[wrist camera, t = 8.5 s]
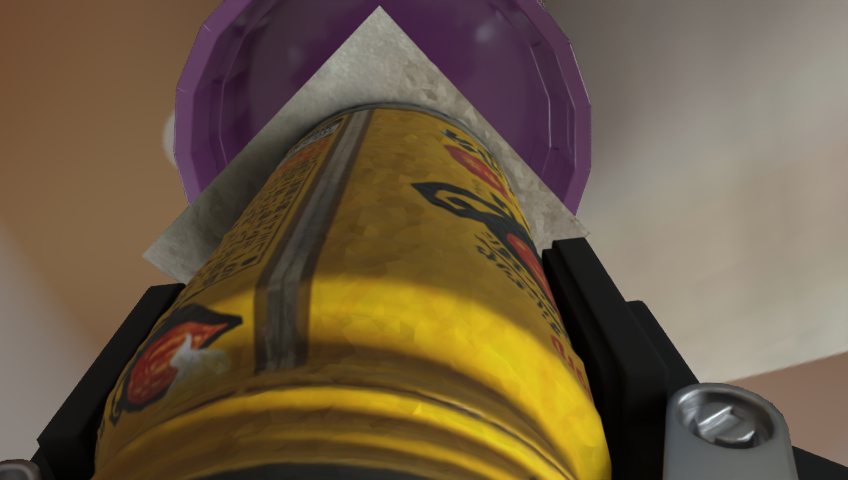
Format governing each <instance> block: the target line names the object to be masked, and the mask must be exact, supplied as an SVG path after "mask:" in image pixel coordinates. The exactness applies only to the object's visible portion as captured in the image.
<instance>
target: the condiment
mask: <svg viewBox="0 0 848 480" xmlns="http://www.w3.org/2000/svg"><path fill="white" fill-rule="evenodd" d="M589 234H590V233H589V232H588V231H587V229H586V228H585V227H584V226H583V225H582V224H581V223H580V222H579V221H578V220H577V219H576V218H575V216H574V215H573V214H572V213H571V212H570V211H569V210H568V209H567V208H566V207H565V206H564V204H563V203H562V202H561V201H560V200H559V198H558V197H556V196H555V195H554V193H553V192H552V191H551V190H550V189H549V188H548V187H547V186H546V185H545V184H544V183H543V182H542V180H541V179H540V178H539V177H538V176H537V175H536V174H535V173H534V172H533V171H532V170H531V168H530V167H529V166H528V165H527V164H526V163H525V162H524V161H523V160H522V159H521V158H520V157H519V155H518V154H517V153H516V152H515V151H514V150H513V149H512V148H511V147H510V146H509V144H508V143H507V142H506V141H505V140H504V139H503V138H502V137H501V136H500V135H499V134H498V133H497V132H496V130H495V129H494V128H493V127H492V126H491V125H490V124H489V123H488V122H487V121H486V120H485V119H484V118H483V117H482V115H481V114H480V113H479V112H478V111H477V110H476V109H475V108H474V107H473V106H472V105H471V104H470V103H469V101H468V100H467V99H466V98H465V97H464V96H463V95H462V94H461V93H460V92H459V91H458V89H457V88H456V87H455V86H454V85H453V84H452V83H451V82H450V81H449V80H448V79H447V78H446V77H445V76H444V75H443V73H442V72H441V71H440V70H439V69H438V68H437V66H435V65H434V64H433V63H432V62H431V61H430V60H429V59H428V58H427V57H426V55H425V54H424V53H423V52H422V51H421V50H420V49H419V48H418V47H417V46H416V45H415V43H414V42H413V41H412V40H411V39H410V38H409V37H408V36H407V35H406V34H405V33H404V32H403V31H402V29H401V28H400V27H399V26H398V25H397V24H396V23H395V22H394V21H393V20H392V19H391V18H390V16H389V15H388V14H387V13H386V12H385V11H384V10H383V9H382V8H381V7H380V6H379V7H378V8H377V9H376V10H375V11H374V12H373V13H372V14H371V15H370V16H369V17H368V18H367V19H366V20H365V21H364V22H363V23H362V24H361V25H360V27H359V28H358V29H357V30H356V31H355V32H354V33H353V34H352V35H351V36H350V37H349V38H348V39H347V40H346V41H345V42H344V43H343V44H342V45H341V47H340V48H339V49H338V50H337V51H336V52H335V53H334V54H333V55H332V56H331V57H330V58H329V59H328V60H327V61H326V62H325V63H324V64H323V66H322V67H321V68H320V69H319V70H318V71H317V72H316V73H315V74H314V75H313V76H312V77H311V78H310V79H309V80H308V81H307V82H306V83H305V84H304V85H303V87H302V88H301V89H300V90H299V91H298V92H297V93H296V94H295V95H294V96H293V97H292V98H291V99H290V100H289V101H288V102H287V103H286V104H285V105H284V106H283V108H282V109H281V110H280V111H279V112H278V113H277V114H276V115H275V116H274V117H273V118H272V119H271V120H270V121H269V122H268V123H267V124H266V125H265V127H264V128H263V129H262V130H261V131H260V132H259V133H258V134H257V135H256V136H255V137H254V138H253V139H252V140H251V141H250V142H249V143H248V144H247V145H246V146H245V148H244V149H243V150H242V151H241V152H240V153H239V154H238V155H237V156H236V157H235V158H234V159H233V160H232V161H231V162H230V163H229V164H228V165H227V166H226V168H225V169H224V170H223V171H222V172H221V173H220V174H219V175H218V176H217V177H216V178H215V179H214V180H213V181H212V182H211V183H210V184H209V185H208V186H207V187H206V188H205V189H204V190H203V192H202V193H201V194H200V195H199V196H198V197H197V198H196V199H195V200H194V201H193V202H192V203H191V204H190V205H189V206H188V207H187V209H186V210H185V211H184V212H183V213H182V214H181V215H180V216H179V217H178V218H177V219H176V220H175V221H174V222H173V224H171V226H170V227H169V228H168V229H167V230H166V231H165V232H164V233H163V234H162V235H161V236H160V237H159V238H158V239H157V240H156V241H155V242H154V243H153V244H152V245H151V246H150V247H149V248H148V249H147V250H146V252H145V253H144V254H143V255H142V257H143V258H145V259H146V260H148V261H149V262H150V263H152V264H153V265H154V266H156V267H157V268H158V269H159V270H161V271H162V272H163V273H165V274H166V275H168V276H170V277H172V278H174V279H175V280H177V281H178V282H179V283H184V284H185V285H186V287H185V289H183V290H182V291H181V293H180V295H179V296H178V297H177V298H176V300H175V302H174V303H173V305H172V306H171V308H170V309H169V310H168V311H167V312H166V313H165V314H163V315H162V316H161V317H160V318H159V319H158V322H157V323H156V324H155V326H154V327H153V329H152V331H151V332H150V334H149V336H148V337H147V339H146V340H145V341H144V342H143V343H142V344H141V345H140V346H139V348H138V350H137V352H136V353H135V355H134V357H133V358H132V359H131V360H130V361H129V362H128V364H127V365H126V367H125V368H124V370H123V372H122V373H121V375H120V376H119V379H118V381H117V383H116V386H115V388H114V389H113V390H112V392H111V393H110V394H109V396H108V399H107V401H106V406H105V411H104V415H103V419H102V423H101V426H100V428H99V429H98V431H97V433H98V437H97V442H96V450H95V459H94V466H95V472H94V476H93V477H92V478H91V479H90V480H611V473H612V466H611V460H610V455H609V450H608V446H607V442H606V438H605V434H604V430H603V426H602V422H601V418H600V415H599V414H598V412H597V410H596V408H595V405H594V402H593V398H592V394H591V391H590V387H589V382H588V378H587V375H586V372H585V368H584V363H583V362H582V360H581V359H580V358H579V357H578V356H577V355H576V353H575V350H574V348H573V345H572V343H571V340H570V337H569V335H568V333H567V331H566V328H565V326H564V323H563V321H562V318H561V315H560V313H559V310H558V308H557V306H556V303H555V300H554V297H553V294H552V291H551V289H550V285H549V282H548V280H547V278H546V276H545V274H544V268H543V263H542V250H543V249H550V248H551V247H552V242H553V240H560V239H569V238H578V237H586V236H588V235H589Z"/></svg>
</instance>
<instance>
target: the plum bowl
mask: <svg viewBox="0 0 848 480" xmlns="http://www.w3.org/2000/svg"><path fill="white" fill-rule="evenodd" d="M379 6H380V7H381V8H382V9H383V10H384V11H385V12H386V13H387V14H388V15H389V16H390V18H391V19H392V20H393V21H394V22H395V23H396V24H397V25H398V26H399V27H400V28H401V29H402V31H403V32H404V33H405V34H406V35H407V36H408V37H409V38H410V39H411V40H412V41H413V42H414V43H415V45H416V46H417V47H418V48H419V49H420V50H421V51H422V52H423V53H424V54H425V55H426V57H427V58H428V59H429V60H430V61H431V62H432V63H433V64H434V65H435V66H437V68H438V69H439V70H440V71H441V72H442V73H443V75H444V76H445V77H446V78H447V79H448V80H449V81H450V82H451V83H452V84H453V85H454V86H455V87H456V88H457V89H458V91H459V92H460V93H461V94H462V95H463V96H464V97H465V98H466V99H467V100H468V101H469V103H470V104H471V105H472V106H473V107H474V108H475V109H476V110H477V111H478V112H479V113H480V114H481V115H482V117H483V118H484V119H485V120H486V121H487V122H488V123H489V124H490V125H491V126H492V127H493V128H494V129H495V130H496V132H497V133H498V134H499V135H500V136H501V137H502V138H503V139H504V140H505V141H506V142H507V143H508V144H509V146H510V147H511V148H512V149H513V150H514V151H515V152H516V153H517V154H518V155H519V157H520V158H521V159H522V160H523V161H524V162H525V163H526V164H527V165H528V166H529V167H530V168H531V170H532V171H533V172H534V173H535V174H536V175H537V176H538V177H539V178H540V179H541V180H542V182H543V183H544V184H545V185H546V186H547V187H548V188H549V189H550V190H551V191H552V192H553V193H554V195H555V196H556V197H558V198H559V200H560V201H561V202H562V203H563V204H564V206H565V207H566V208H567V209H568V210H569V211H570V212H571V213H572V214H573V215H574V216H575V215H576V212H577V209H578V206H579V203H580V200H581V197H582V194H583V191H584V188H585V185H586V182H587V179H588V176H589V173H590V168H591V102H590V99H589V96H588V93H587V90H586V87H585V84H584V81H583V78H582V75H581V72H580V69H579V66H578V63H577V60H576V57H575V54H574V51H573V48H572V45H571V43H570V42H569V39H568V38H567V37H566V35H565V34H564V33H563V31H562V30H561V29H560V28H559V26H558V25H557V24H556V22H555V21H554V20H553V19H552V17H551V16H550V15H549V13H548V12H547V11H546V9H545V8H544V7H543V6H542V4H541V3H540V2H539V0H224V1H223V2H222V3H221V4H220V5H219V6H218V7H217V8H216V9H215V11H214V12H213V13H212V14H211V15H210V16H209V17H208V18H207V19H206V20H205V22H204V23H203V25H202V26H201V28H200V30H199V32H198V35H197V37H196V40H195V42H194V45H193V47H192V50H191V52H190V55H189V57H188V60H187V62H186V65H185V67H184V70H183V72H182V75H181V77H180V79H179V82H178V84H177V89H176V104H175V127H174V151H173V152H174V158H175V161H176V165H177V168H178V171H179V175H180V178H181V182H182V185H183V189H184V192H185V195H186V199H187V202H188V206H189V205H190V204H191V203H192V202H193V201H194V200H195V199H196V198H197V197H198V196H199V195H200V194H201V193H202V192H203V190H204V189H205V188H206V187H207V186H208V185H209V184H210V183H211V182H212V181H213V180H214V179H215V178H216V177H217V176H218V175H219V174H220V173H221V172H222V171H223V170H224V169H225V168H226V166H227V165H228V164H229V163H230V162H231V161H232V160H233V159H234V158H235V157H236V156H237V155H238V154H239V153H240V152H241V151H242V150H243V149H244V148H245V146H246V145H247V144H248V143H249V142H250V141H251V140H252V139H253V138H254V137H255V136H256V135H257V134H258V133H259V132H260V131H261V130H262V129H263V128H264V127H265V125H266V124H267V123H268V122H269V121H270V120H271V119H272V118H273V117H274V116H275V115H276V114H277V113H278V112H279V111H280V110H281V109H282V108H283V106H284V105H285V104H286V103H287V102H288V101H289V100H290V99H291V98H292V97H293V96H294V95H295V94H296V93H297V92H298V91H299V90H300V89H301V88H302V87H303V85H304V84H305V83H306V82H307V81H308V80H309V79H310V78H311V77H312V76H313V75H314V74H315V73H316V72H317V71H318V70H319V69H320V68H321V67H322V66H323V64H324V63H325V62H326V61H327V60H328V59H329V58H330V57H331V56H332V55H333V54H334V53H335V52H336V51H337V50H338V49H339V48H340V47H341V45H342V44H343V43H344V42H345V41H346V40H347V39H348V38H349V37H350V36H351V35H352V34H353V33H354V32H355V31H356V30H357V29H358V28H359V27H360V25H361V24H362V23H363V22H364V21H365V20H366V19H367V18H368V17H369V16H370V15H371V14H372V13H373V12H374V11H375V10H376V9H377V8H378V7H379Z"/></svg>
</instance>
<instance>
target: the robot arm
mask: <svg viewBox="0 0 848 480" xmlns="http://www.w3.org/2000/svg"><path fill="white" fill-rule="evenodd" d="M542 263H543V268H544V274H545V276H546V278H547V280H548V282H549V285H550V289H551V291H552V294H553V297H554V300H555V303H556V306H557V308H558V310H559V313H560V315H561V318H562V321H563V323H564V326H565V328H566V331H567V333H568V335H569V337H570V340H571V343H572V345H573V348H574V350H575V353H576V355H577V356H578V357H579V358H580V359H581V360H582V362H583V363H584V368H585V372H586V375H587V378H588V382H589V387H590V391H591V394H592V398H593V402H594V405H595V408H596V410H597V412H598V414H599V415H600V418H601V422H602V426H603V430H604V434H605V438H606V442H607V446H608V450H609V455H610V460H611V466H612V473H611V480H848V467H845V466H843V465H841V464H838V463H835V462H833V461H830V460H828V459H825V458H823V457H820V456H818V455H815V454H812V453H810V452H807V451H804V450H802V449H800V448H797V447H794V446H792V445H791V440H790V435H789V429H788V426H787V423H786V421H785V419H784V417H783V414H781V413H780V411H779V410H778V409H777V408H776V407H775V406H774V405H773V404H772V403H771V402H769V401H768V400H766V399H764V398H763V397H761V396H760V395H758V394H756V393H754V392H751V391H749V390H746V389H744V388H741V387H738V386H733V385H729V384H724V383H699V381H698V380H697V378H696V377H695V375H694V374H693V373H692V371H691V370H690V368H689V367H688V365H687V364H686V362H685V361H684V359H683V358H682V357H681V355H680V354H679V352H678V351H677V349H676V348H675V346H674V345H673V344H672V342H671V341H670V339H669V338H668V336H667V335H666V333H665V332H664V330H663V329H662V328H661V326H660V325H659V323H658V322H657V320H656V319H655V317H654V316H653V315H652V313H651V312H650V310H649V309H648V307H647V306H646V305H645V304H644V303H643V302H642V301H639V300H638V301H629V302H626V301H625V300H624V298H623V297H622V295H621V293H620V292H619V290H618V289H617V287H616V286H615V284H614V283H613V281H612V279H611V278H610V276H609V275H608V273H607V272H606V270H605V268H604V267H603V265H602V264H601V262H600V261H599V259H598V257H597V256H596V254H595V253H594V251H593V250H592V248H591V247H590V245H589V243H588V242H587V240H586V239H585V238H584V237H578V238H569V239H560V240H553V242H552V247H551V248H550V249H543V250H542ZM185 287H186V285H185V284H184V283H176V284H168V285H158V286H151V287H150V288H149V289H148V290H147V291H146V293H145V294H144V295H143V297H142V298H141V299H140V301H139V302H138V303H137V305H136V306H135V307H134V309H133V310H132V311H131V313H130V314H129V315H128V317H127V318H126V320H125V321H124V322H123V324H122V325H121V326H120V328H119V329H118V330H117V332H116V333H115V334H114V336H113V337H112V338H111V340H110V341H109V343H108V344H107V345H106V347H105V348H104V349H103V351H102V352H101V353H100V355H99V356H98V357H97V359H96V360H95V361H94V363H93V364H92V365H91V367H90V368H89V370H88V371H87V372H86V374H85V375H84V376H83V378H82V379H81V381H80V382H79V383H78V384H77V386H76V387H75V388H74V390H73V391H72V393H71V394H70V395H69V397H68V398H67V399H66V401H65V402H64V403H63V405H62V406H61V407H60V409H59V410H58V411H57V413H56V414H55V415H54V417H53V418H52V419H51V421H50V422H49V424H48V425H47V426H46V428H45V429H44V430H43V432H42V433H41V434H40V436H39V437H38V438H37V441H38V443H39V446H40V447H39V449H38V450H37V452H36V453H35V454H34V456H33V457H32V459H31V460H30V461H28V460H24V459H14V460H5V461H1V462H0V480H90V479H91V478H92V477H93V476H94V472H95V466H94V459H95V450H96V442H97V437H98V433H97V431H98V429H99V428H100V426H101V423H102V419H103V415H104V411H105V406H106V401H107V399H108V396H109V394H110V393H111V392H112V390H113V389H114V388H115V386H116V383H117V381H118V379H119V376H120V375H121V373H122V372H123V370H124V368H125V367H126V365H127V364H128V362H129V361H130V360H131V359H132V358H133V357H134V355H135V353H136V352H137V350H138V348H139V346H140V345H141V344H142V343H143V342H144V341H145V340H146V339H147V337H148V336H149V334H150V332H151V331H152V329H153V327H154V326H155V324H156V323H157V322H158V319H159V318H160V317H161V316H162V315H163V314H165V313H166V312H167V311H168V310H169V309H170V308H171V306H172V305H173V303H174V302H175V300H176V298H177V297H178V296H179V295H180V293H181V291H182V290H183V289H185Z"/></svg>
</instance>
